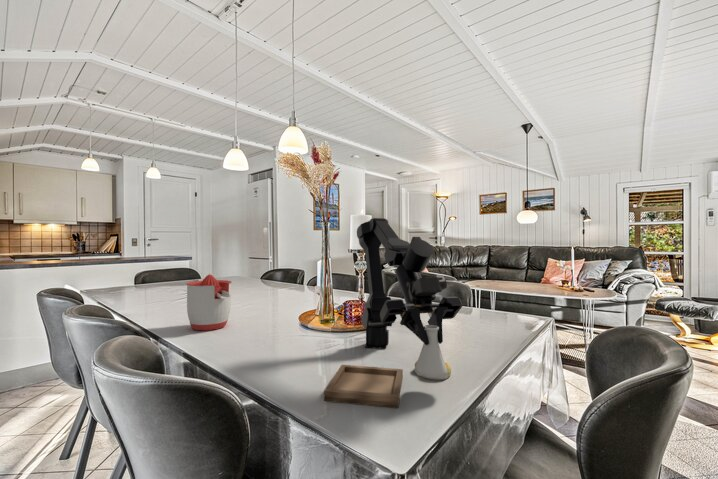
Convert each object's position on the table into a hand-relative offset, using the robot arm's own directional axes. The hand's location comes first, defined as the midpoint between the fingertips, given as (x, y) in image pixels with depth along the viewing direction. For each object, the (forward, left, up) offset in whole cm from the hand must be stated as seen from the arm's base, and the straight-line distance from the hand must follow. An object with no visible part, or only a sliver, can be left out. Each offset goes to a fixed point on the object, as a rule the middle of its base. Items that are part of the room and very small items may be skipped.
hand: (434, 343), depth 71 cm
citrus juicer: (-81, +40, -11) cm, 91 cm away
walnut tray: (-15, 0, -11) cm, 18 cm away
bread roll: (0, +12, -11) cm, 17 cm away
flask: (-1, +1, -7) cm, 7 cm away
